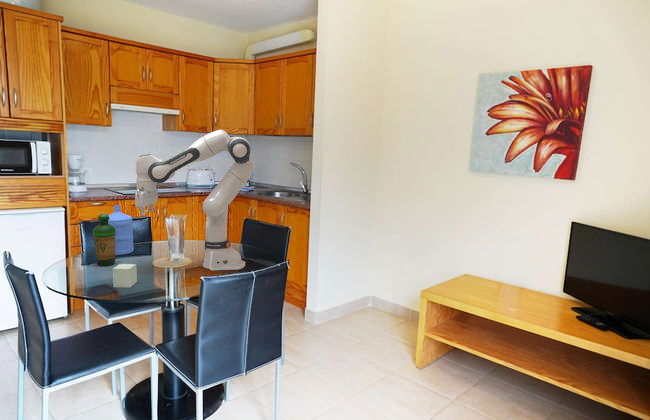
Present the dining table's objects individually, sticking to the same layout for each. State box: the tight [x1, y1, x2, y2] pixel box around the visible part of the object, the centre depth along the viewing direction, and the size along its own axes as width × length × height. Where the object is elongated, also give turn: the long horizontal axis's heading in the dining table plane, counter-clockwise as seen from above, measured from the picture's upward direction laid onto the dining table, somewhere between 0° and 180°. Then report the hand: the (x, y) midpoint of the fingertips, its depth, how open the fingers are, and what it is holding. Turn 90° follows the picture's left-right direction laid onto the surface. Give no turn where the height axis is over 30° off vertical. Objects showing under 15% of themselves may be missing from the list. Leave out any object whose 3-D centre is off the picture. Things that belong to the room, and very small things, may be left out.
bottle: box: [92, 211, 116, 267], centre depth 217 cm, size 11×11×28 cm
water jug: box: [108, 204, 135, 256], centre depth 241 cm, size 16×16×28 cm
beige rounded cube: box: [112, 263, 138, 289], centre depth 189 cm, size 7×7×9 cm
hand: (147, 213), depth 210 cm, fingers open, 8 cm apart
